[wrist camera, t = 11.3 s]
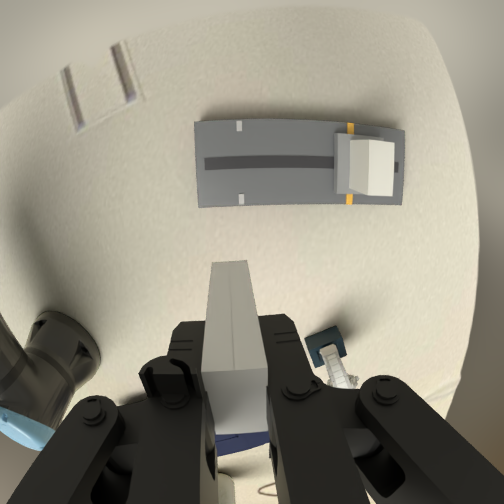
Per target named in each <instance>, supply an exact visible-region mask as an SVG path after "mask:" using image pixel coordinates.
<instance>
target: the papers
mask: <svg viewBox="0 0 504 504" xmlns="http://www.w3.org/2000/svg"><path fill="white" fill-rule="evenodd" d="M269 442H270V437H269V431H263V432H252V433H239V434H217V435H216V432H215V445H216V448H217V457H218V456H223V455H227V454H232V453H236V452H240V451H244V450H248V449H252V448H254V447H257V446H260V445H264V444H265V443H269Z"/></svg>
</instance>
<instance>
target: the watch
mask: <svg viewBox="0 0 504 504" xmlns="http://www.w3.org/2000/svg"><path fill="white" fill-rule="evenodd" d="M304 339H305V342H306V345H307V348H308V351H309V353H310V356H311V358H312V361H313V364H314V366H315V368H317V367H320V366H322V365H325V366H326V369H327V372H328V375H329V378H330V379H329V380H328V382H327V385H329V386H332V387H336V388H347V389H355V388H356V386H357V384H358V383H357V381H358V380H359V378H358V376H355V377H354V376H353V375H349V374H347V373H346V370H345V368H344V366H343V364H342V361H341V359H340V358H342V357H344V356H346V355H347V353H346V349H345V346H344V342H343V338H342V336H341V334H340V332H339V330H338V328H337V326H334V327H332V328H329V329H327V330H324V331H322V332H319V333H317V334H314V335H312V336H309V337H307V338H304ZM343 370H344V371H343Z"/></svg>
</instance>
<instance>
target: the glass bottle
mask: <svg viewBox="0 0 504 504" xmlns="http://www.w3.org/2000/svg"><path fill="white" fill-rule="evenodd" d="M218 498H219V504H235V488H234V482H233V480H232V478H231V477H230V476H228V475H226V474H222V473H218Z"/></svg>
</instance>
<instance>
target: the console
mask: <svg viewBox="0 0 504 504" xmlns="http://www.w3.org/2000/svg"><path fill="white" fill-rule="evenodd" d="M194 132H195V157H196V177H197V194H198V208H205V207H225V206H250V205H286V204H374V205H402V196H403V182H404V158H405V131H404V130H398V129H392V128H386V127H379V126H371V125H363V124H355V123H345V122H334V121H320V120H302V119H230V120H212V121H198V122H194ZM335 133H342V134H353V135H363V136H372V137H380V138H384V141H385V142H393V143H394V179H393V195H392V196H370V195H365V194H336V193H334V134H335Z"/></svg>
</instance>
